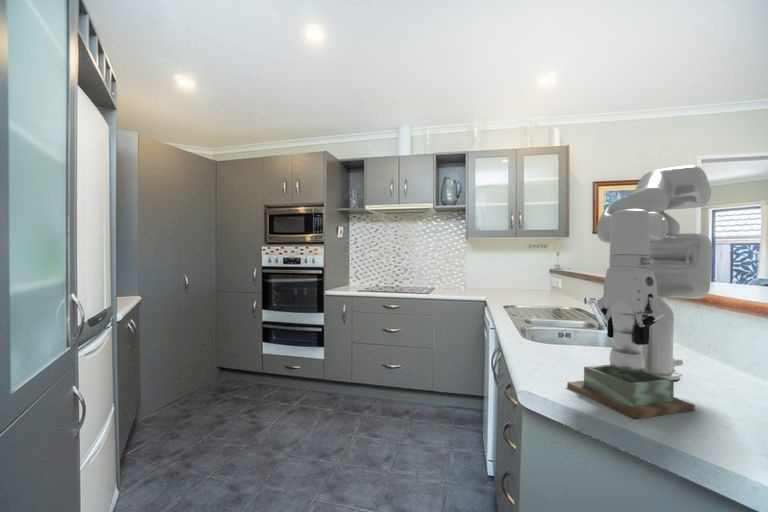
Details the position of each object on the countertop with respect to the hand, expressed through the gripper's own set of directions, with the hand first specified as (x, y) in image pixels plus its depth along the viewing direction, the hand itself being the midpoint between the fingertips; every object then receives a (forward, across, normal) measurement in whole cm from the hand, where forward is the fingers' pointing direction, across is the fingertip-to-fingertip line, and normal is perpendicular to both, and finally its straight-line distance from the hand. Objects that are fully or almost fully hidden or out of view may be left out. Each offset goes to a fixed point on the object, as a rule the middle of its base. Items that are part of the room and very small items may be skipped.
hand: (627, 339), depth 78 cm
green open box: (+14, 0, 0) cm, 14 cm away
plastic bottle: (+8, 0, 0) cm, 8 cm away
